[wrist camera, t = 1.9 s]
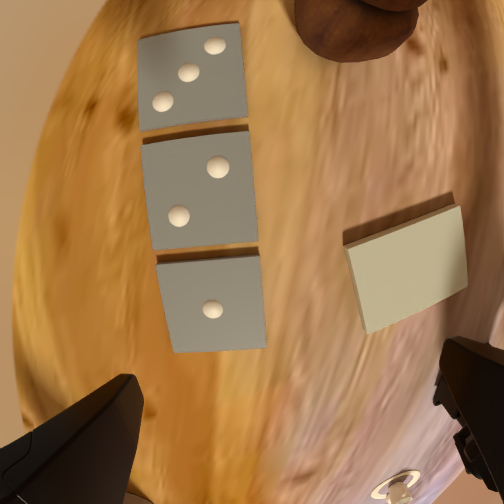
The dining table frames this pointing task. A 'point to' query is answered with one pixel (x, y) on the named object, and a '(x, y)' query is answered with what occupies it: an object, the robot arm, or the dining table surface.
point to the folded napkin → (408, 267)
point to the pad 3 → (213, 303)
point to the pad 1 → (191, 77)
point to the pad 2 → (200, 191)
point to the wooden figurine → (355, 27)
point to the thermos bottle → (134, 499)
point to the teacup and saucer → (397, 489)
